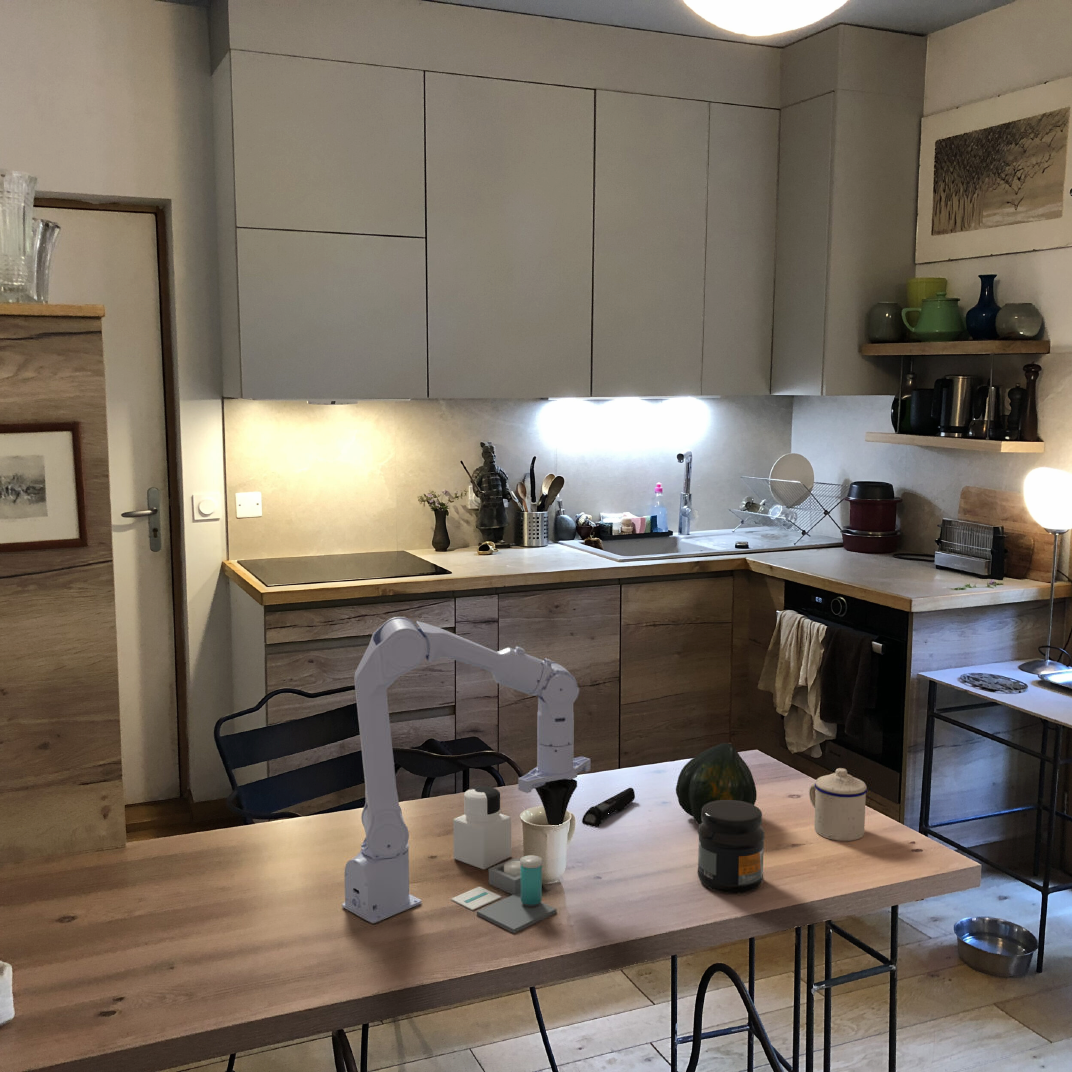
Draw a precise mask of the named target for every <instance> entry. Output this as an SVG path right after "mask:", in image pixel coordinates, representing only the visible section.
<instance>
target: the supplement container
mask: <svg viewBox="0 0 1072 1072" xmlns="http://www.w3.org/2000/svg"><path fill="white" fill-rule="evenodd" d="M701 820H702V823H701V824H700V825H699V824H698V828H697V834H698V852H697V853H698V855H697V856H698V857H697V859H698V860H697V876H698V879H699V881H700V882H701V883H702V884H703V885H704V886H705V887H707V888H709V889H711V890H713V891H715V892H720V893H723V892H724V893H723V894H734V895H735V894H737V895H738V893H739V894H747V893H750V892H752V891H755V890H756V889H758V888H759V887H760V886H761V885H762V884H763V880H764V849H765V848H764V846H765V843H764V842H765V838H766V833H765V831H764V828H763V827H762V825H763V812H762V809H760V808H759V807H758V806H756V805H752V804H750V803H747V802H743V801H737V800H717V801H712V802H709V803H707V804H705V805H704V806H703V807H702V818H701Z"/></svg>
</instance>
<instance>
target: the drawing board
mask: <svg viewBox="0 0 1072 1072" xmlns="http://www.w3.org/2000/svg"><path fill="white" fill-rule="evenodd" d="M556 913H557V908H555V907H553V906H551V905H549V904H547V903H545V902H543V901H541V902H540V904H539V906H537V907H533V908H529V907H525V906H524V905H523V903H522V902H521V892H518V893H516V894H514V895H512V894H511V895H509V896H508V897H506V898H502V899H501V900H499V901H496V902H494V903H491V904H489V905H487V906H485V907H483V908H479V909H478V910H476V916H478V917H479V918H483V920H486V921H488V922H490V923H493V924H494V925H496V926H498V927H501V928H502V929H504V930H506V931H509V932H511V933H512V934H515V933H517V932H520V931H521V930H524V929H526V928H528V927H529V926H532V925H534V924H536V923H538V922H540V921H542V920H544V919H546V918H548V917H550V916H552V915H554V914H556Z"/></svg>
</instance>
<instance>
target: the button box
mask: <svg viewBox="0 0 1072 1072" xmlns="http://www.w3.org/2000/svg"><path fill="white" fill-rule="evenodd" d="M520 859H521V858H520ZM520 859H519V858H518V857H514V858H512V859H509V860H507V861H504V862H502V863H498V864H497V865H493V867H492V866H491V867H489V868H488V884H489V885H491V886H493V887H495V888H498V889H499V890H501V891H503V892H506V893H508V894H511V896H512V895H514V894H516V893H518V892H521V875H519V876H517V877H513V876H511V875H509V874H506V873H504V864H505V863H506V862H509V861H520Z"/></svg>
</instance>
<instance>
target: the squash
mask: <svg viewBox="0 0 1072 1072" xmlns="http://www.w3.org/2000/svg"><path fill="white" fill-rule="evenodd" d="M675 792H676V797H677V800H678V804H679V807H680V808H681V809H682V810H684V812H685V813H686V814H688V815H689V816H691V817H693V819H694V821H695V823H697V824H698V826H699V825H700V824H701V823H702V820H701V818H702V807H703V806H704V805H705V804H707V803H709V802H712V801H717V800H737V801H743V802H747V803H750V804H752V805H755V804H756V802H757V794H758V793H757V788H756V784H755V780H754V776H753V773H752V772H751V769H750V767H749V766H748V764H747V763H746V762H745V760H744V759H743V758H742V757H741V754H739V752H738V750H737V749H736V747H734V746H733V744H732V743H730V742H728V743H726V742H725V743H719V744H717V745H714V746H712V747H710V748H708V749H706V750H704V751H702V752H701V753H699V754H697V755H696V756H695V757H693V758H692V759H690V760H689V761H688V762H686V764H685V765H684V766H683V768H682V769H681V771H680V773H679V775H678V778H677V783H676V786H675ZM755 806H756V805H755Z"/></svg>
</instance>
